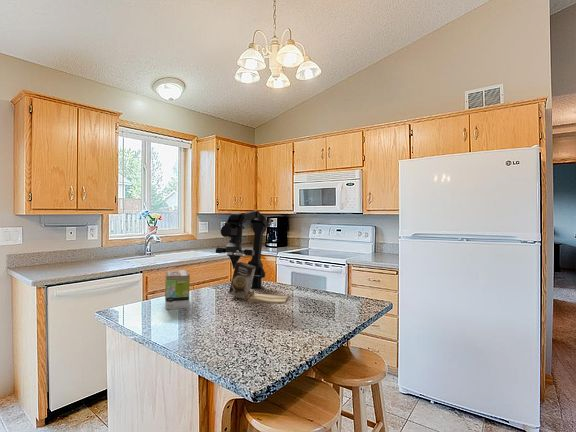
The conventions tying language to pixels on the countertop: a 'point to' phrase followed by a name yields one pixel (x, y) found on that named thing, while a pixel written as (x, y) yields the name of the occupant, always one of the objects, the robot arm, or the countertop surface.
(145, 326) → the countertop surface
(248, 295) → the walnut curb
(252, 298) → the maple board
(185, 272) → the tea box
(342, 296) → the countertop surface
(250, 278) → the coffee box
